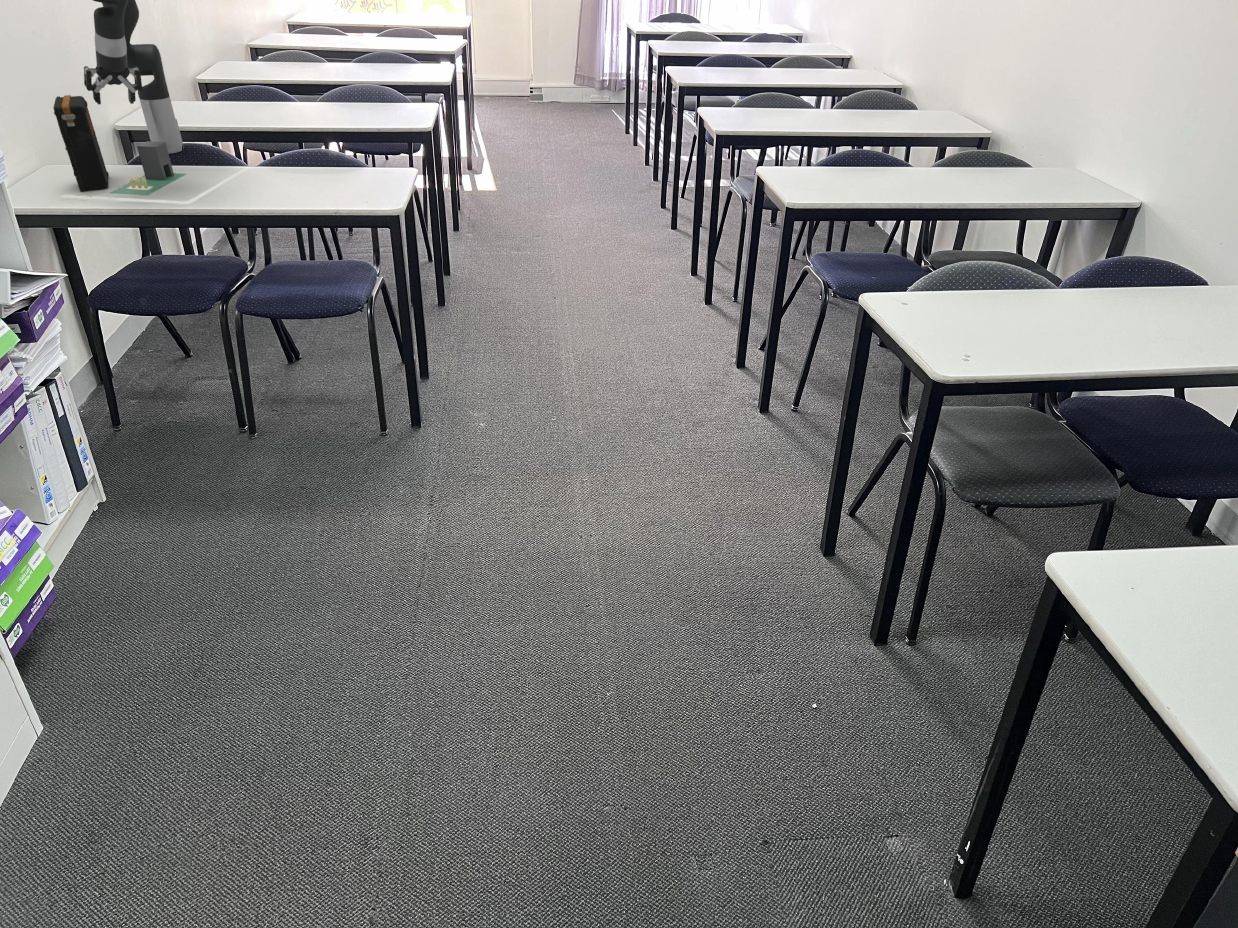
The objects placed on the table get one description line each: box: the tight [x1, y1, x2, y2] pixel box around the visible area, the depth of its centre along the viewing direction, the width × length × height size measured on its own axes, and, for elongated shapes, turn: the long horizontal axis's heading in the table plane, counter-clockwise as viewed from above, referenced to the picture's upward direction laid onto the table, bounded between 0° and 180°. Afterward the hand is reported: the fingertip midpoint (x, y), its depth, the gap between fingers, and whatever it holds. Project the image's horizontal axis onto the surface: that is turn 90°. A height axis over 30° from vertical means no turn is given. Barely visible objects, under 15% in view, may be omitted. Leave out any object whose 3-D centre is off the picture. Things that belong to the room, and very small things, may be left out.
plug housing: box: [136, 140, 175, 180], centre depth 274 cm, size 6×6×10 cm
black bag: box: [52, 94, 110, 193], centre depth 264 cm, size 16×9×25 cm, turn 25°
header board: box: [109, 172, 187, 196], centre depth 271 cm, size 22×12×4 cm, turn 173°
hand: (114, 102), depth 257 cm, fingers open, 8 cm apart
